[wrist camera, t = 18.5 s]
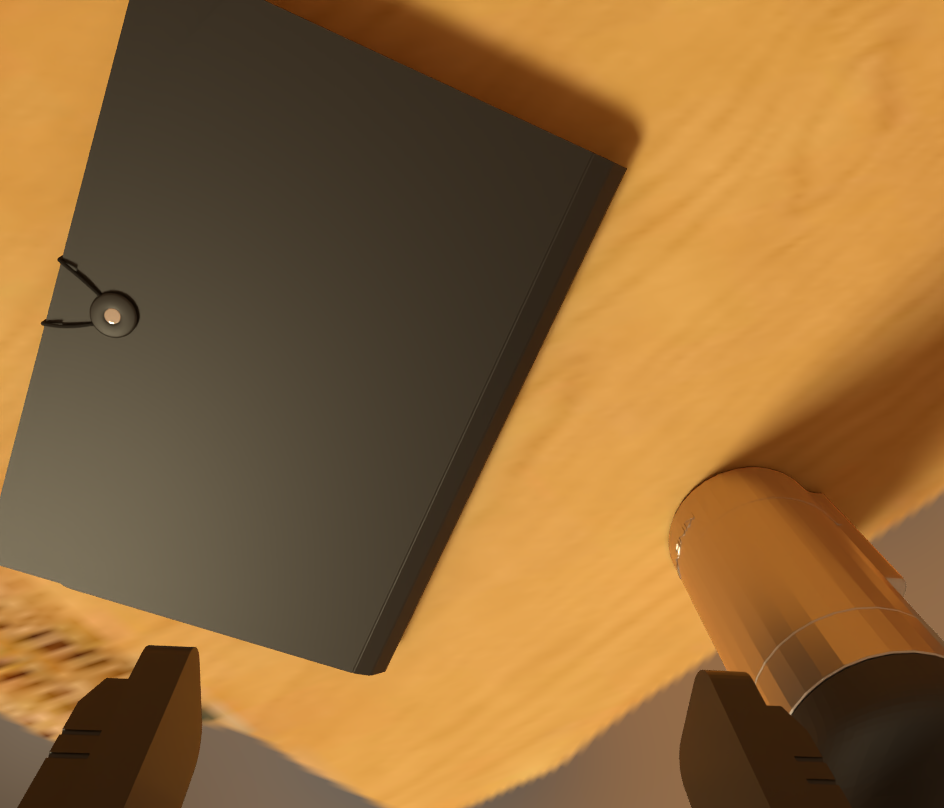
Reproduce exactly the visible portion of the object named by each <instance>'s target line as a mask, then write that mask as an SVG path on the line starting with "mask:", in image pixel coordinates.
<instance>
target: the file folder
mask: <svg viewBox="0 0 944 808" xmlns="http://www.w3.org/2000/svg"><path fill="white" fill-rule="evenodd" d="M626 169H627V168H625V167H622V166H620V165H618V164H616V163H614V162H612V161H610V160H608V159H606V158H603V157H601V156H599V155H597V154H595V153H593V152H591V151H588V150H586V149H584V148H582V147H580V146H578V145H575V144H573V143H571V142H569V141H567V140H565V139H562V138H560V137H558V136H556V135H554V134H552V133H550V132H547V131H545V130H543V129H541V128H539V127H537V126H534V125H532V124H530V123H528V122H526V121H524V120H521V119H519V118H517V117H515V116H513V115H511V114H509V113H506V112H504V111H502V110H500V109H498V108H496V107H493V106H491V105H489V104H487V103H485V102H483V101H480V100H478V99H476V98H474V97H472V96H470V95H468V94H465V93H463V92H461V91H459V90H457V89H455V88H452V87H450V86H448V85H446V84H444V83H442V82H439V81H437V80H435V79H433V78H431V77H429V76H427V75H424V74H422V73H420V72H418V71H416V70H414V69H411V68H409V67H407V66H405V65H403V64H401V63H398V62H396V61H394V60H392V59H390V58H388V57H386V56H383V55H381V54H379V53H377V52H375V51H373V50H370V49H368V48H366V47H364V46H362V45H360V44H357V43H355V42H353V41H351V40H349V39H347V38H345V37H342V36H340V35H338V34H336V33H334V32H332V31H329V30H327V29H325V28H323V27H321V26H319V25H316V24H314V23H312V22H310V21H308V20H306V19H304V18H301V17H299V16H297V15H295V14H293V13H291V12H288V11H286V10H284V9H282V8H280V7H278V6H275V5H273V4H271V3H269V2H267V1H265V0H129V3H128V7H127V11H126V15H125V19H124V23H123V26H122V30H121V34H120V38H119V42H118V46H117V50H116V53H115V57H114V61H113V65H112V69H111V73H110V76H109V80H108V84H107V88H106V92H105V96H104V100H103V103H102V107H101V111H100V115H99V119H98V123H97V126H96V130H95V134H94V138H93V142H92V146H91V150H90V153H89V157H88V161H87V165H86V169H85V173H84V176H83V180H82V184H81V188H80V192H79V196H78V200H77V203H76V207H75V211H74V215H73V219H72V223H71V226H70V230H69V234H68V238H67V242H66V246H65V250H64V253H63V255H62V256H61V257H59V258H58V261H59V262H60V263H61V265H60V269H59V273H58V276H57V280H56V284H55V288H54V292H53V296H52V300H51V303H50V307H49V311H48V315H47V319H45V320H44V321H42V322H41V325H43V326H44V330H43V334H42V338H41V342H40V346H39V350H38V353H37V357H36V361H35V365H34V369H33V373H32V376H31V380H30V384H29V388H28V392H27V396H26V400H25V403H24V407H23V411H22V415H21V419H20V423H19V426H18V430H17V434H16V438H15V442H14V446H13V450H12V453H11V457H10V461H9V465H8V469H7V473H6V476H5V480H4V484H3V488H2V492H1V496H0V566H3V567H7V568H10V569H13V570H17V571H20V572H24V573H27V574H30V575H34V576H37V577H41V578H44V579H47V580H51V581H54V582H58V583H61V584H62V585H63V586H65V587H67V588H70V589H73V590H76V591H79V592H83V593H86V594H90V595H93V596H96V597H100V598H103V599H106V600H110V601H113V602H116V603H120V604H123V605H126V606H130V607H133V608H136V609H140V610H143V611H146V612H150V613H153V614H156V615H160V616H163V617H166V618H170V619H173V620H177V621H180V622H183V623H187V624H190V625H193V626H197V627H200V628H203V629H207V630H210V631H213V632H217V633H220V634H223V635H227V636H230V637H233V638H237V639H240V640H243V641H247V642H250V643H253V644H257V645H260V646H263V647H267V648H270V649H274V650H277V651H280V652H284V653H287V654H290V655H294V656H297V657H300V658H304V659H307V660H310V661H314V662H317V663H320V664H324V665H327V666H330V667H334V668H337V669H340V670H344V671H347V672H350V673H355V674H362V675H369V676H370V675H375V674H378V673H382V672H385V671H386V669H387V667H388V665H389V663H390V660H391V658H392V656H393V654H394V652H395V650H396V648H397V646H398V644H399V642H400V640H401V638H402V635H403V633H404V631H405V629H406V627H407V625H408V623H409V621H410V619H411V617H412V615H413V613H414V610H415V608H416V606H417V604H418V602H419V600H420V598H421V596H422V594H423V592H424V590H425V588H426V585H427V583H428V581H429V579H430V577H431V575H432V573H433V571H434V569H435V567H436V565H437V563H438V560H439V558H440V556H441V554H442V552H443V550H444V548H445V546H446V544H447V542H448V540H449V538H450V535H451V533H452V531H453V529H454V527H455V525H456V523H457V521H458V519H459V517H460V515H461V513H462V510H463V508H464V506H465V504H466V502H467V500H468V498H469V496H470V494H471V492H472V490H473V488H474V485H475V483H476V481H477V479H478V477H479V475H480V473H481V471H482V469H483V467H484V465H485V463H486V461H487V458H488V456H489V454H490V452H491V450H492V448H493V446H494V444H495V442H496V440H497V438H498V436H499V433H500V431H501V429H502V427H503V425H504V423H505V421H506V419H507V417H508V415H509V413H510V411H511V409H512V406H513V404H514V402H515V400H516V398H517V396H518V394H519V392H520V390H521V388H522V386H523V384H524V381H525V379H526V377H527V375H528V373H529V371H530V369H531V367H532V365H533V363H534V361H535V359H536V357H537V354H538V352H539V350H540V348H541V346H542V344H543V342H544V340H545V338H546V336H547V334H548V332H549V329H550V327H551V325H552V323H553V321H554V319H555V317H556V315H557V313H558V311H559V309H560V307H561V305H562V302H563V300H564V298H565V296H566V294H567V292H568V290H569V288H570V286H571V284H572V282H573V280H574V278H575V275H576V273H577V271H578V269H579V267H580V265H581V263H582V261H583V259H584V257H585V255H586V253H587V250H588V248H589V246H590V244H591V242H592V240H593V238H594V236H595V234H596V232H597V230H598V228H599V226H600V223H601V221H602V219H603V217H604V215H605V213H606V211H607V209H608V207H609V205H610V203H611V201H612V198H613V196H614V194H615V192H616V190H617V188H618V186H619V184H620V182H621V180H622V178H623V176H624V174H625V171H626Z"/></svg>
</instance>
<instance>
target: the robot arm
mask: <svg viewBox="0 0 944 808" xmlns="http://www.w3.org/2000/svg"><path fill="white" fill-rule="evenodd" d="M669 550H670V556H671V559H672V561H673V563H674V566H675V568H676V570H677V572H678V575H679V577H680V579H681V580H682V582H683V584H684V586H685V588H686V590H687V592H688V594H689V596H690V598H691V600H692V602H693V604H694V606H695V608H696V610H697V612H698V614H699V616H700V618H701V620H702V622H703V624H704V626H705V628H706V630H707V632H708V634H709V636H710V638H711V640H712V642H713V644H714V646H715V648H716V650H717V652H718V654H719V656H720V658H721V660H722V662H723V664H724V666H725V668H726V670H727V671H712V670H700V671H699V672H698V673H697V675H696V677H695V681H694V685H693V689H692V694H691V698H690V702H689V707H688V711H687V716H686V720H685V724H684V729H683V734H682V738H681V743H680V753H679V754H680V755H679V759H680V771H681V777H682V781H683V785H684V787H685V791H686V793H687V796H688V799H689V802H690V805H691V807H692V808H944V641H943V640H942V639H941V638H940V637H939V635H938V634H937V633H936V632H935V631H934V630H933V629H932V628H931V627H930V626H929V625H928V624H927V623H926V622H925V621H924V619H923V618H922V617H921V616H920V615H919V614H918V613H917V612H916V611H915V610H914V609H913V608H912V606H911V605H910V604H909V603H908V602H907V601H906V600H905V599H904V598H903V597H904V594H905V591H906V582H905V580H904V578H903V577H902V576H901V575H900V574H899V573H898V572H897V571H896V569H894V567H893V566H892V565H891V564H890V563H889V562H888V561H887V560H886V559H885V558H884V557H883V556H882V555H881V554H880V553H879V552H878V551H877V550H876V549H875V548H874V546H873V545H872V544H871V543H870V542H869V541H868V540H867V539H866V538H865V537H864V536H863V535H862V534H861V533H860V532H859V531H858V530H857V529H856V528H855V527H854V526H853V524H852V523H851V522H850V521H849V520H848V519H847V518H846V517H845V516H844V515H843V514H842V513H841V512H840V511H839V510H838V509H837V508H836V507H835V506H834V505H833V504H832V503H831V501H830V500H829V499H828V498H827V497H826V496H825V495H824V494H822V493H812V492H808V491H807V490H805V489H804V488H803V487H802V486H801V485H800V484H798V483H797V482H796V481H795V480H794V479H793V478H791V477H789V476H787V475H785V474H783V473H782V472H779V471H775V470H772V469H768V468H758V467H747V468H739V469H733V470H730V471H727V472H724V473H721V474H718V475H716V476H714V477H712V478H710V479H709V480H707V481H705V482H703V483H702V484H701V485H700V486H698V487H697V488H696V489H695V490H693V491H692V492H691V493H690V494H689V495H688V497H687V498H686V499H685V500H684V501H683V502H682V503H681V505H680V507H679V509H678V510H677V512H676V514H675V516H674V518H673V521H672V524H671V527H670V532H669ZM201 734H202V711H201V687H200V662H199V652H198V649H197V648H196V647H178V646H154V645H148V646H146V647H145V649H144V650H143V652H142V653H141V655H140V657H139V659H138V661H137V663H136V665H135V667H134V669H133V671H132V673H131V675H130V677H129V679H118V678H106V679H105V680H103V681H102V682H101V683H100V684H99V685H97V686H96V687H95V688H94V689H93V690H92V691H90V692H89V693H88V694H87V695H86V696H84V697H83V698H82V699H81V700H80V701H78V703H77V705H76V707H75V708H74V710H73V712H72V714H71V715H70V717H69V719H68V721H67V722H66V724H65V726H64V728H63V731H62V735H59V736H58V738H57V740H56V741H55V743H54V745H53V747H52V748H51V750H50V752H49V757H48V758H46V759H45V761H44V762H43V764H42V766H41V768H40V769H39V771H38V773H37V775H36V776H35V778H34V780H33V781H32V783H31V785H30V787H29V788H28V790H27V792H26V794H25V795H24V797H23V799H22V801H21V802H20V804H19V806H18V808H181V807H182V804H183V801H184V798H185V796H186V792H187V790H188V787H189V784H190V781H191V778H192V775H193V773H194V770H195V767H196V763H197V759H198V755H199V750H200V743H201Z"/></svg>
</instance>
